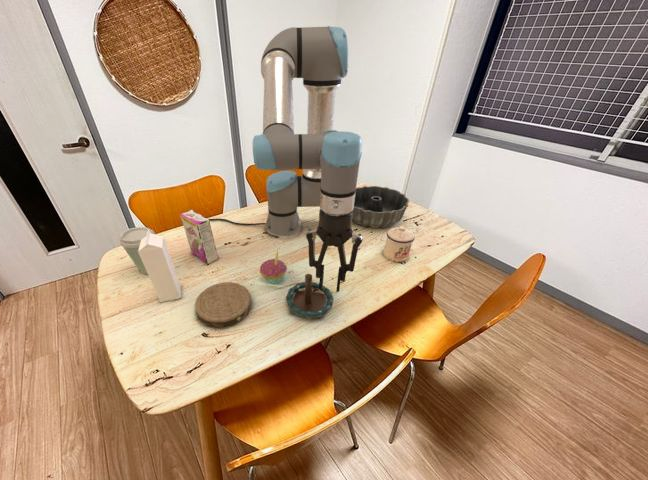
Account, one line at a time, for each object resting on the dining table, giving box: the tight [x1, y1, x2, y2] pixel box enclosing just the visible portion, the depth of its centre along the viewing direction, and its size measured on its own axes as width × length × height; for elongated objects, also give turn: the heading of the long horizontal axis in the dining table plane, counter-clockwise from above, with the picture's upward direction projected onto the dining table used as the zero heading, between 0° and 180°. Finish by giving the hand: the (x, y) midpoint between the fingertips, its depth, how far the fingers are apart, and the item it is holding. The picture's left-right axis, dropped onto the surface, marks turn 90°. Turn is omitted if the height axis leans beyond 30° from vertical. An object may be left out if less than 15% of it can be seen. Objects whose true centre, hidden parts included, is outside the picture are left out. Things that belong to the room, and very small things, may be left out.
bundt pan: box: [352, 185, 410, 229], centre depth 120 cm, size 26×26×10 cm
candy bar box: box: [179, 209, 219, 265], centre depth 98 cm, size 11×5×16 cm, turn 47°
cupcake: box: [259, 251, 288, 285], centre depth 88 cm, size 9×8×12 cm
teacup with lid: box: [383, 225, 416, 263], centre depth 98 cm, size 12×9×12 cm
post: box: [289, 273, 326, 319], centre depth 79 cm, size 9×9×11 cm
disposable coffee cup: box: [118, 226, 156, 275], centre depth 93 cm, size 11×11×15 cm
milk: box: [138, 228, 182, 303], centre depth 80 cm, size 6×6×22 cm
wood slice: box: [194, 281, 252, 329], centre depth 81 cm, size 16×16×3 cm
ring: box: [285, 281, 335, 319], centre depth 81 cm, size 14×14×2 cm
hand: (329, 287), depth 76 cm, fingers open, 4 cm apart
